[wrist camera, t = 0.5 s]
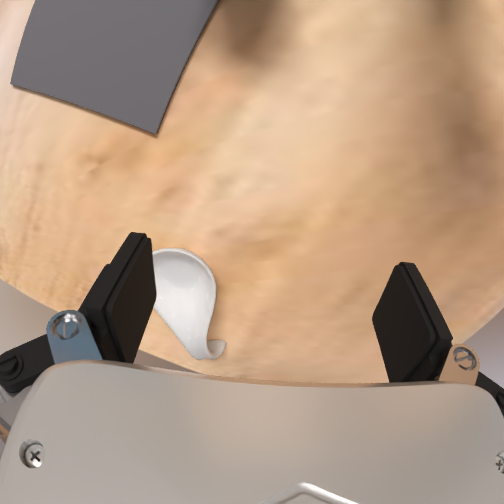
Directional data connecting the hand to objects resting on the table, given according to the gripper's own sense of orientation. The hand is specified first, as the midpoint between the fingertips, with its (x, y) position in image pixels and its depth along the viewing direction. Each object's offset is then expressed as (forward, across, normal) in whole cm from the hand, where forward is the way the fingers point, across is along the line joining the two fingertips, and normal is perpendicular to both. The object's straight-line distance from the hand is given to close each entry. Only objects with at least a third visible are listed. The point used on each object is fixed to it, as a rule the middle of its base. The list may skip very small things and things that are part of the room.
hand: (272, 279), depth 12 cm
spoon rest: (+29, +8, +29) cm, 42 cm away
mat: (+28, +22, -13) cm, 38 cm away
